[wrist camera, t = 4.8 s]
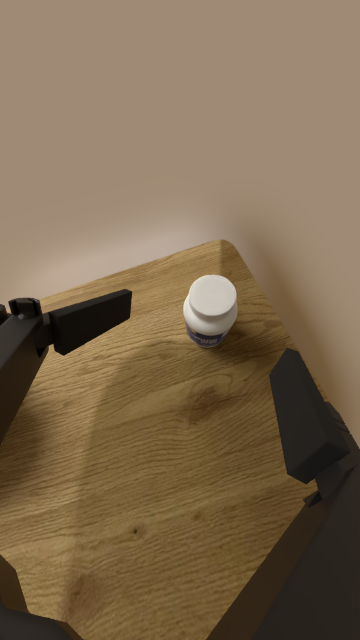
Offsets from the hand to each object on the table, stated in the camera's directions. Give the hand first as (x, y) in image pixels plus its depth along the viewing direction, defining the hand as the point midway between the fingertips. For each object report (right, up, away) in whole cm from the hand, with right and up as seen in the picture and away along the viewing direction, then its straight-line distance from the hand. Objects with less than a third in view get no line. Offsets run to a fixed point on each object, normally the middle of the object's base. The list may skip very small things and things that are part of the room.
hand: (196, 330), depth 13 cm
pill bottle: (+2, 0, +9) cm, 10 cm away
